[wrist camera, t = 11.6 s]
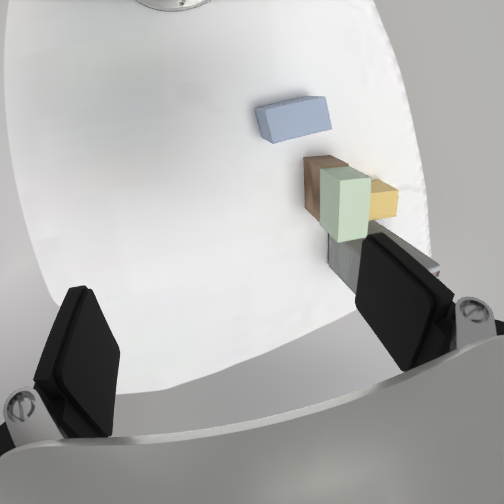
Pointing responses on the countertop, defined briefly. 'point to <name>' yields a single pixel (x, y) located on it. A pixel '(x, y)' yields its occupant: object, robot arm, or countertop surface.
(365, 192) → the sage brick
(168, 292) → the countertop surface
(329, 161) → the walnut brick
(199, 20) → the countertop surface
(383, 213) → the ochre brick
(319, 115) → the slate brick
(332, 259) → the skincare box
